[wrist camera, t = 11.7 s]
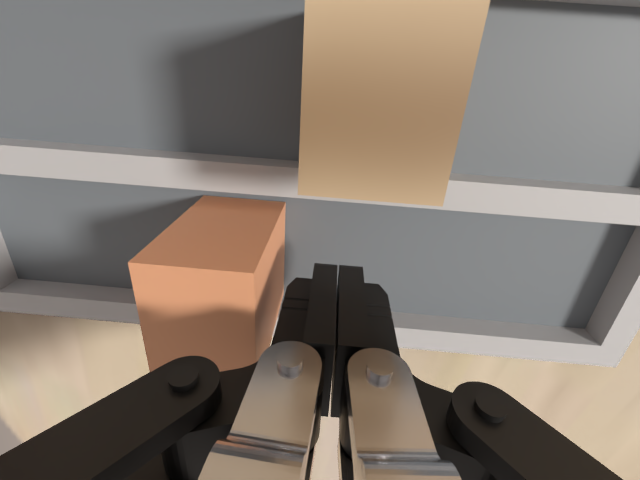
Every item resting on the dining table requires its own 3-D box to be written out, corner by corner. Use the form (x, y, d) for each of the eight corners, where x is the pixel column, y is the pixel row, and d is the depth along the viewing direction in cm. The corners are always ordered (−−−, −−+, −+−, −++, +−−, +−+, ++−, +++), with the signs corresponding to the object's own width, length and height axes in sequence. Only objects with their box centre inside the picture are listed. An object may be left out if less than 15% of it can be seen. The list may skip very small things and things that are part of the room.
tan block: (323, 7, 10) (306, -48, 5) (428, 13, 10) (498, -35, 5) (314, 148, 12) (297, 194, 7) (404, 155, 12) (442, 206, 7)
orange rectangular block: (203, 195, 13) (127, 262, 8) (285, 201, 13) (254, 273, 8) (211, 287, 14) (152, 384, 10) (283, 293, 14) (256, 394, 10)
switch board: (-102, -72, 11) (-207, -107, 9) (756, -18, 10) (862, -42, 8) (25, 281, 17) (-21, 311, 14) (582, 330, 16) (618, 369, 14)
